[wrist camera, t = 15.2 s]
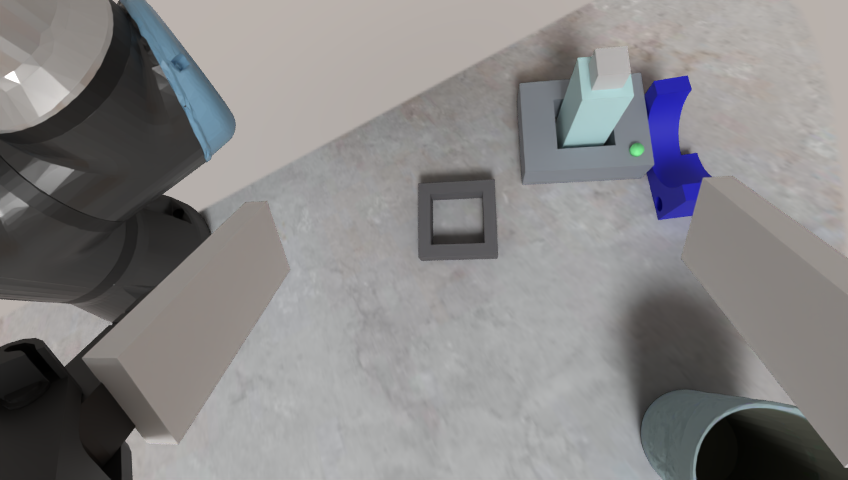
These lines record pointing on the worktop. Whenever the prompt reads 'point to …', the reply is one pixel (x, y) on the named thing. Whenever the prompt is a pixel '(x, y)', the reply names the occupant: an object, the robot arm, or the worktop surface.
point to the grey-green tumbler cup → (733, 440)
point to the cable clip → (671, 151)
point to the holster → (457, 191)
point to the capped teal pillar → (595, 98)
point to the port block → (613, 161)
